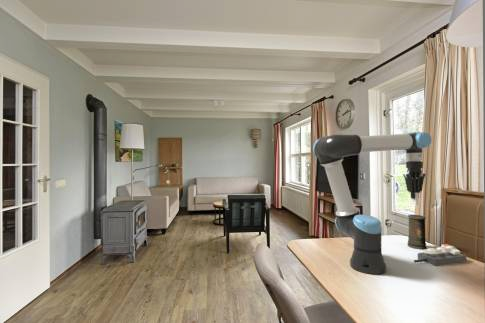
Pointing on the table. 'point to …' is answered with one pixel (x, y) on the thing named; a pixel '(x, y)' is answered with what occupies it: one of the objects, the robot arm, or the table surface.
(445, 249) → the rocker
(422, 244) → the container
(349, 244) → the table surface
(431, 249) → the rocker
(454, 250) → the rocker
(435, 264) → the rocker switch panel
